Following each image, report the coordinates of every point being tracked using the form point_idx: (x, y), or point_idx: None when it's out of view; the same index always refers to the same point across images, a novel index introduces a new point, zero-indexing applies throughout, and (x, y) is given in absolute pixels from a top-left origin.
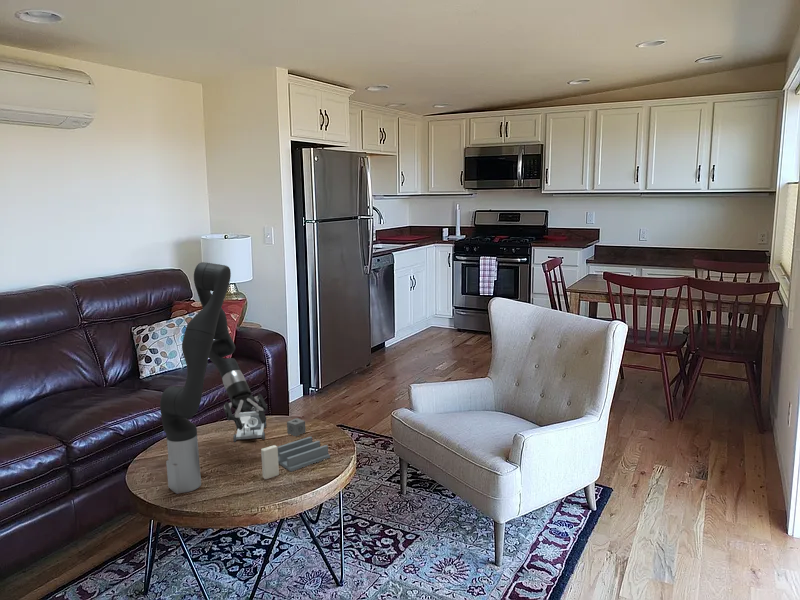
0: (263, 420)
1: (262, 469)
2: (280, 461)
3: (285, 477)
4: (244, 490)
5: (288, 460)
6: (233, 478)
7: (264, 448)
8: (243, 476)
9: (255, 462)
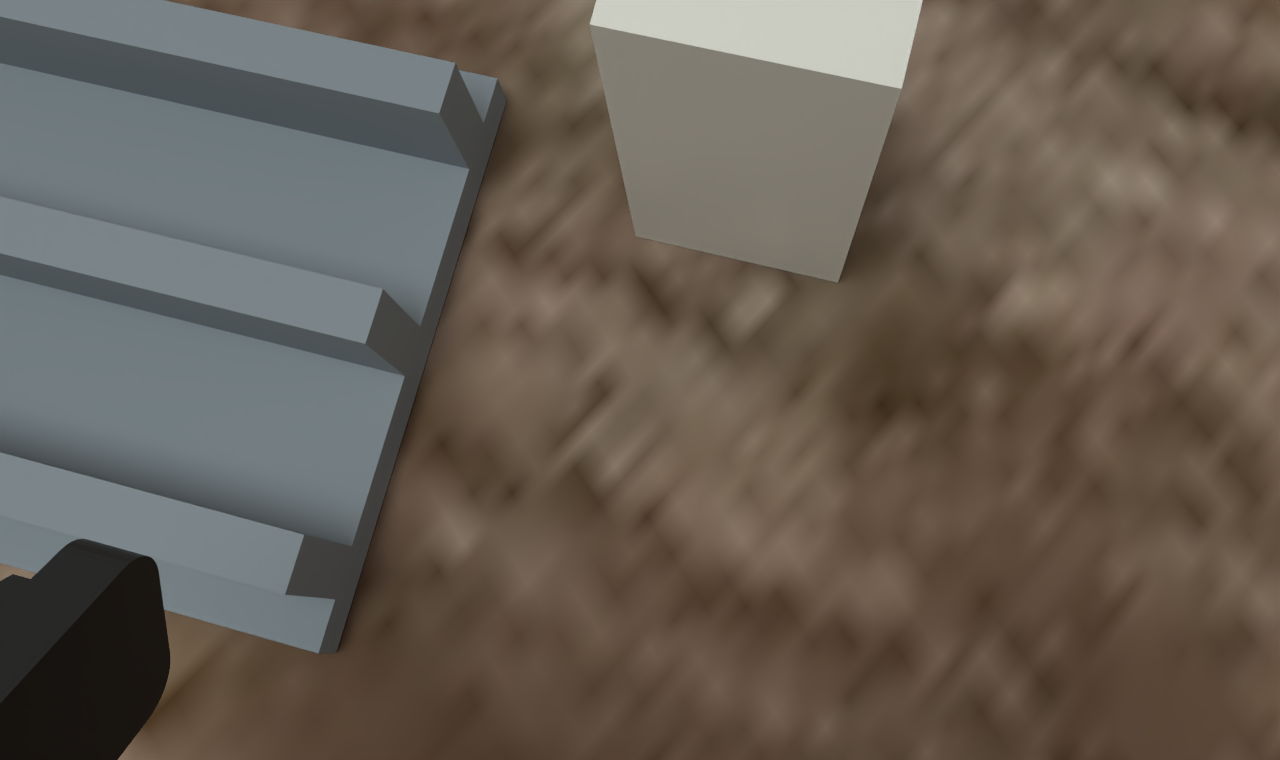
0: (129, 595)
1: (852, 236)
2: (412, 346)
3: None
4: (1240, 195)
5: (460, 75)
6: (1120, 608)
7: (836, 55)
8: (986, 533)
9: (560, 755)
